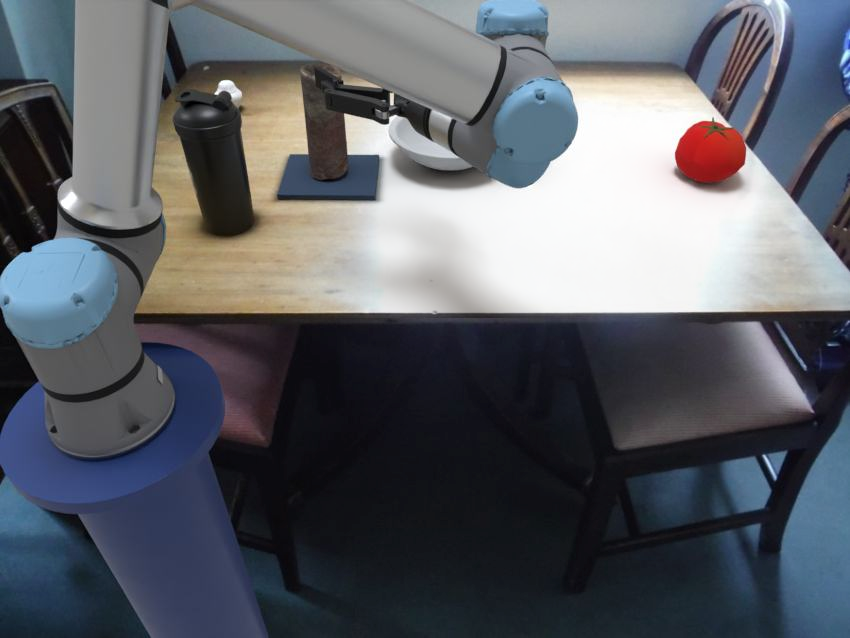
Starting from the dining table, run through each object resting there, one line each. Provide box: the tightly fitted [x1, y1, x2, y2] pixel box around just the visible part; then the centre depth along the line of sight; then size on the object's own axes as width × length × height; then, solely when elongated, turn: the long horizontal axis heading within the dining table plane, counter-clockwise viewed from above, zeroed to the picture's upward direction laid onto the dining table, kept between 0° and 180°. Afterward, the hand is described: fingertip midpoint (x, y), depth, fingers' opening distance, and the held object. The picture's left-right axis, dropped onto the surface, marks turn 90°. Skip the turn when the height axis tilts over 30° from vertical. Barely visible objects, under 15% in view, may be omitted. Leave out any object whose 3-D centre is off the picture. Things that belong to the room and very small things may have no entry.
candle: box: [299, 62, 349, 180], centre depth 121 cm, size 8×7×20 cm
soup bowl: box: [388, 115, 475, 171], centre depth 132 cm, size 24×24×7 cm
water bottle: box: [172, 88, 256, 237], centre depth 108 cm, size 10×10×23 cm
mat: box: [276, 153, 380, 201], centre depth 127 cm, size 18×16×1 cm
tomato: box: [674, 116, 747, 184], centre depth 127 cm, size 13×12×11 cm
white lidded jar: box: [214, 79, 243, 110], centre depth 149 cm, size 6×6×7 cm
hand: (357, 66), depth 96 cm, fingers open, 13 cm apart
